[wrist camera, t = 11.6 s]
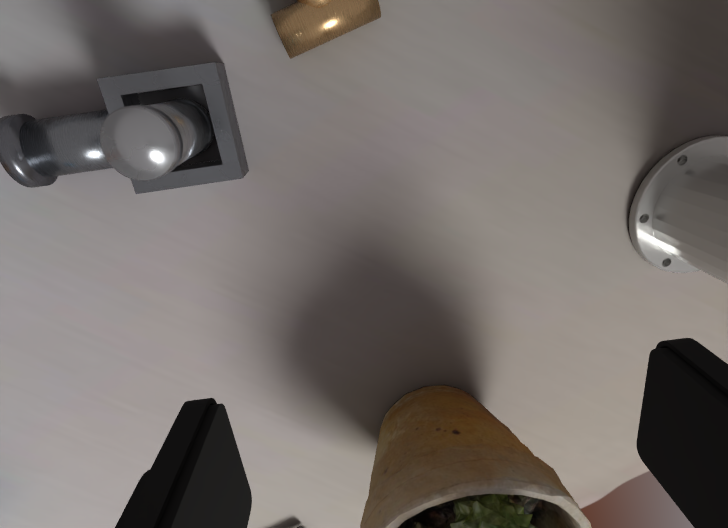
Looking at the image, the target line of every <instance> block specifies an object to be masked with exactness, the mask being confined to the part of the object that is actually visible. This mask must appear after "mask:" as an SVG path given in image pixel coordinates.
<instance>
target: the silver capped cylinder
mask: <svg viewBox="0 0 728 528" xmlns="http://www.w3.org/2000/svg"><path fill="white" fill-rule="evenodd" d="M213 138H214V128H213V124H212V121H211V117H210V114H209V113H208V112H207V110H206V109H205V108H204V107H203V106H201V105H200V104H199V103H197V102H195V101H192V100H189V99H174V100H169V101H167V102H164V103H158V104H151V105H132V106H126V107H121V108H119V109H116V110H115V111H113V112H112V113H110V114H109V115H108V116H107V117H106V119H105V120H104V122H103V124H102V127H101V130H100V144H101V148H102V151H103V153H104V155H105V157H106V159H107V160H108V162H109V163H110V164H111V165H112V167H113V168H114V169H116V170H117V171H118V172H119V173H121V174H122V175H124V176H126V177H128V178H131V179H134V180H138V181H153V180H156V179H159V178H161V177H163V176H165V175H166V174H168V173H170V172H171V171H172V170H174V169H175V168H176V166H178V165H179V164H181V163H183V162H184V161H186V160H188V159H189V158H191V157H194V156H197V155H199V154H200V153H202V152H204V151H205V150H206V149H207V148H208V147H209V146H210V145H211V143H212V141H213Z"/></svg>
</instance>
